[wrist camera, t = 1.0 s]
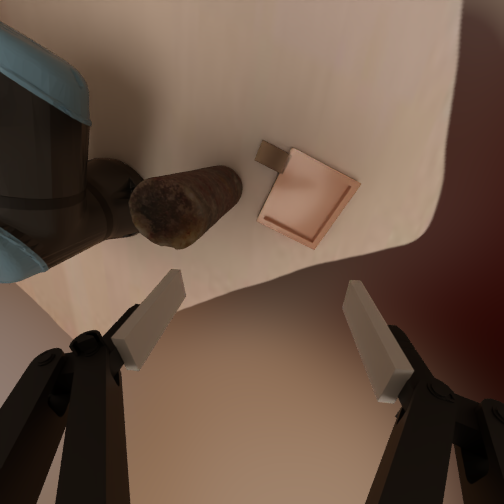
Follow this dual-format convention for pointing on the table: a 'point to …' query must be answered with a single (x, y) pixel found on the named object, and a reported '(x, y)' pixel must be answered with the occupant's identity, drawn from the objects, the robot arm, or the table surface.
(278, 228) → the dish
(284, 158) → the matchbox
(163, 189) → the dark brown tall piece
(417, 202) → the table surface
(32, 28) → the table surface
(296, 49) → the table surface
